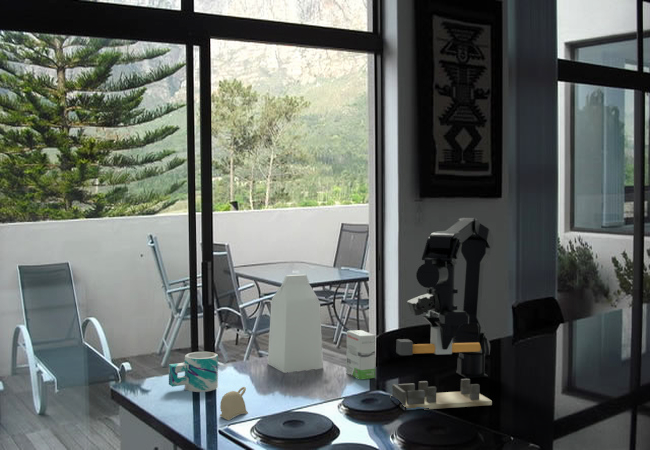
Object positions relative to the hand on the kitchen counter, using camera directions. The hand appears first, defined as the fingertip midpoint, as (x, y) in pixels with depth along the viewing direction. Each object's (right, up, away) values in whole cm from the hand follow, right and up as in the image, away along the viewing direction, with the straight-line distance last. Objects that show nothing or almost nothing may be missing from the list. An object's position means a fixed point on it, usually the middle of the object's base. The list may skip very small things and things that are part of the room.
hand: (441, 347), depth 180 cm
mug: (-61, -11, +4) cm, 63 cm away
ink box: (-19, -11, +19) cm, 29 cm away
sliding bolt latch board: (-1, -12, -5) cm, 13 cm away
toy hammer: (0, -1, 0) cm, 1 cm away
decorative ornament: (-49, -12, -17) cm, 53 cm away
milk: (-37, -10, +29) cm, 48 cm away
